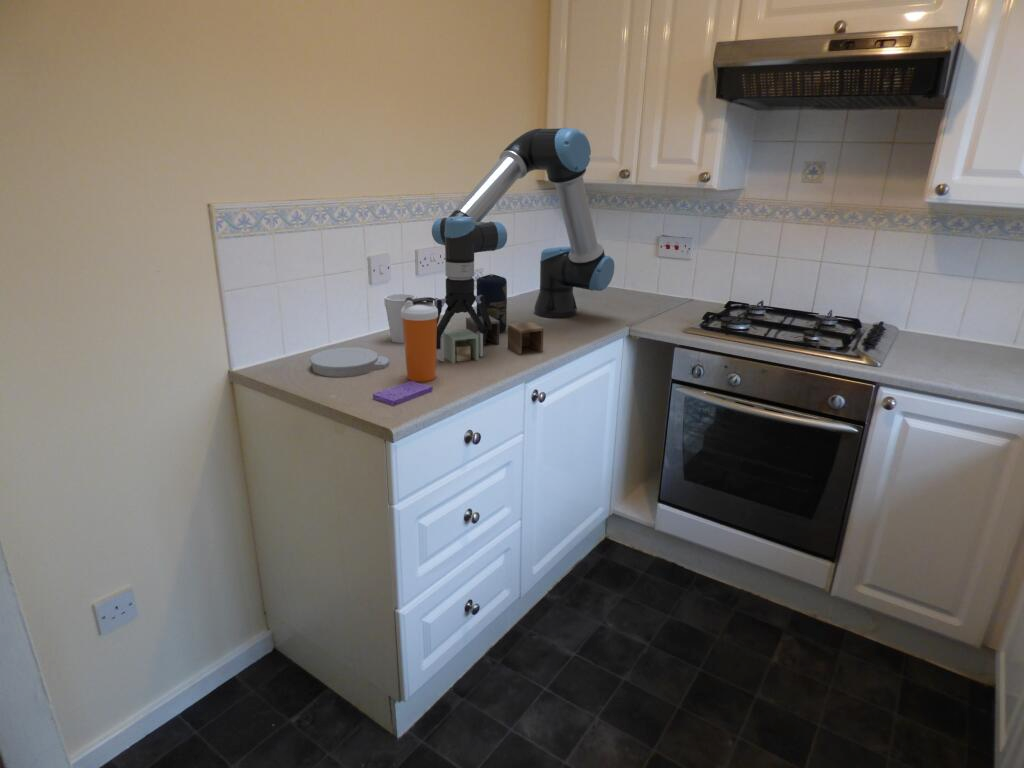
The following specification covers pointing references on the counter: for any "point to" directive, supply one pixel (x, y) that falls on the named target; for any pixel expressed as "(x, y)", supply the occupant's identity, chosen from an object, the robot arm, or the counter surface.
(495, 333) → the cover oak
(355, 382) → the counter surface
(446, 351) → the cover green
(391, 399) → the sponges
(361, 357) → the lid
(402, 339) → the foam cup
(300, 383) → the counter surface
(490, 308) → the canister
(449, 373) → the counter surface
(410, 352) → the shaker bottle
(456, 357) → the maple cube
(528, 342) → the cover walnut
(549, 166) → the robot arm
